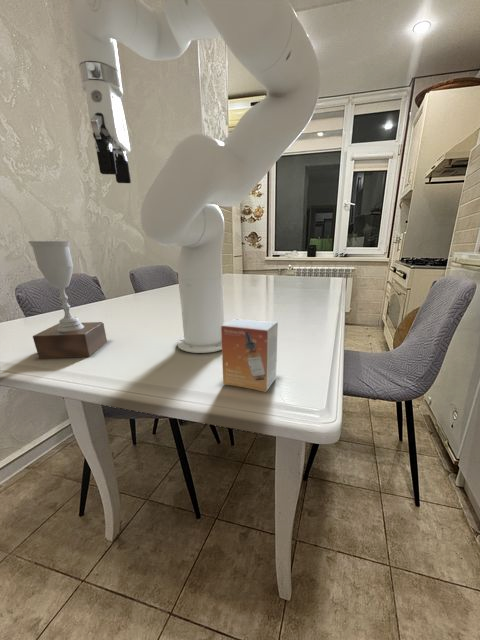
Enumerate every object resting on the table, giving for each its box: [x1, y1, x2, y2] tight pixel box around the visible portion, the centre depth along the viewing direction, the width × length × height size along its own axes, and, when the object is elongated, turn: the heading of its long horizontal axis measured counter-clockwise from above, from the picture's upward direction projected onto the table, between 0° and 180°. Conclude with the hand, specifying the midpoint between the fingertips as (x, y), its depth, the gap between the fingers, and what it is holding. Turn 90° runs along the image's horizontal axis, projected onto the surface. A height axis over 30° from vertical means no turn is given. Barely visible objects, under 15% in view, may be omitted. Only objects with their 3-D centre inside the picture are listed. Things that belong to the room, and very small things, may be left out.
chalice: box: [27, 240, 84, 332], centre depth 61 cm, size 7×7×18 cm
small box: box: [221, 317, 279, 393], centre depth 49 cm, size 8×6×10 cm
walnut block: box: [32, 321, 108, 360], centre depth 65 cm, size 10×10×5 cm
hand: (116, 178), depth 65 cm, fingers open, 9 cm apart
